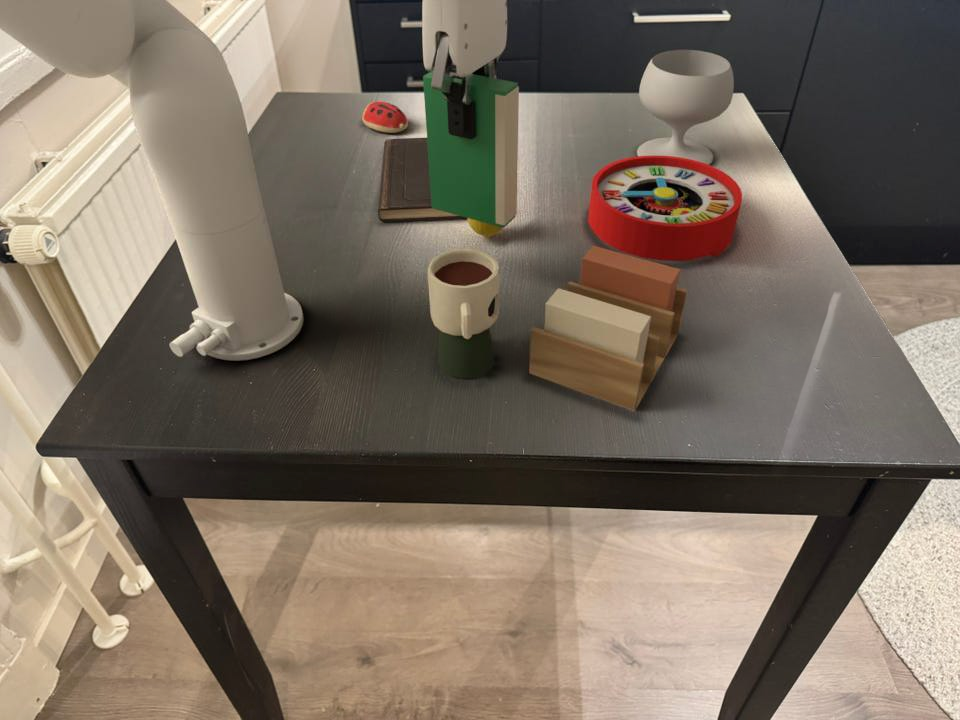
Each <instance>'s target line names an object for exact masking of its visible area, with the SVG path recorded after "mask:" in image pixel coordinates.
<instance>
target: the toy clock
mask: <svg viewBox="0 0 960 720" xmlns="http://www.w3.org/2000/svg"><path fill="white" fill-rule="evenodd" d="M742 202H743V193H742V189H741V187H740V185H739V184H738V183H737V181H735V179H733V177H731V176H730V175H728V174H727V173H725V171H722V169H718V168H717V167H715V166H713V165H711V164H709V165H707V164H705V163H702V162H698V161H695V160H691V159H686V158H681V157H673V156H659V155H650V156H638V155H636V156H630V157H627V158H622V159H618V160H615V161H613V162H610V163H609V164H607V165H604V166H603V167H602V168H601V169H599V170H598V171H597V172H596V173H595V174H594V176H593V177H592V181H591V189H590V200H589V207H588V208H589V209H588V218H587V219H588V220H587V224H588V225H589V226H590V228H591V230H592V231H593V233H594V234H595V235H596V236H597V238H599V239H600V240H601V241H603V242H604V243H605V244H607V245H609V246H610V247H612V248H614V249H616V250H618V251H620V252H622V253H624V254H627V255H630V256H633V257H637V258H642V259H647V260H656V261H669V262H675V261H678V262H679V261H690V260H691V261H692V260H697V259H701V258H705V257H713V258H716V257H718V256H719V255H721V254H722V253H724V252H725V251H727V249H728V248H729V247H730V246H731V243H732V241H733V239H734V235H735V232H736V231H735V230H736V227H737V222H738V219H739V214H740V211H741V206H742Z"/></svg>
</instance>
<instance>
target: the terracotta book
mask: <svg viewBox="0 0 960 720" xmlns="http://www.w3.org/2000/svg"><path fill="white" fill-rule="evenodd" d="M680 275H681V268H677V267H674V266H670V265H666V264H662V263H659V262H655V261H651V260H649V259H645V258H642V257H638V256H634V255H631V254H627V253H623V252H619V251H615V250H611V249H607V248H604V247H600V246H596V245H592V246H591V247H590V248H589V250H588V251H587V252H586V254H584V256H583V257H582V259H581V269H580V280H579V284H581V285H584V286H587V287H591V288H594V289H597V290H601V291H604V292H608V293H611V294H614V295H618V296H621V297H624V298H628V299H631V300H634V301H638V302H641V303H644V304H648V305H651V306H654V307H658V308H661V309H665V310H668V311H671V312H672V310H673V305H674V300H675V295H676V290H677V287H678V284H679V279H680Z"/></svg>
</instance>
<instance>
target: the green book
mask: <svg viewBox="0 0 960 720" xmlns="http://www.w3.org/2000/svg"><path fill="white" fill-rule="evenodd" d="M433 72H434V71H432V72H430V71H428V72H427V73H425V74H424V75H423V76H422V83H423V84H422V85H423V94H424V95H423V97H424V110H425V111H424V112H425V126H426V127H425V129H426V138H427V143H428V157H429V172H430V186H431V201H432V208H433V209H437V210H440V211H444V212H448V213H451V214H455V215H458V216H462V217H466V218H469V219H473V220H476V221H480V222H484V223H487V224H491V225H495V226H498V227H502V229H505V228H506V227H507V226H508V225H510V223H511V222H512V221H513V220H514V219H515V217H516V215H517V213H518V212H517V211H518V210H517V209H518V162H519V161H518V160H519V159H518V158H519V157H518V156H519V155H518V154H519V110H520V109H519V104H520V102H519V101H520V86H519V83H518V82H514V81H510V80H505V79H500V78H496V77H495V78H489V77H484V76H479V75H473V74H472V100H471V101H472V102H475V111H476V137H475V138H473V139H466V138H462V137H458V136H453V135H450V134H449V131H448V110H447V101H446V100H445V99H444V94H443V93H442V92H441V91H438V90H435V89H433V88H432V87H431V82H432V77H433ZM454 82H457V83H459V85H460V86H461V87H462V79H457V78H454Z"/></svg>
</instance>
